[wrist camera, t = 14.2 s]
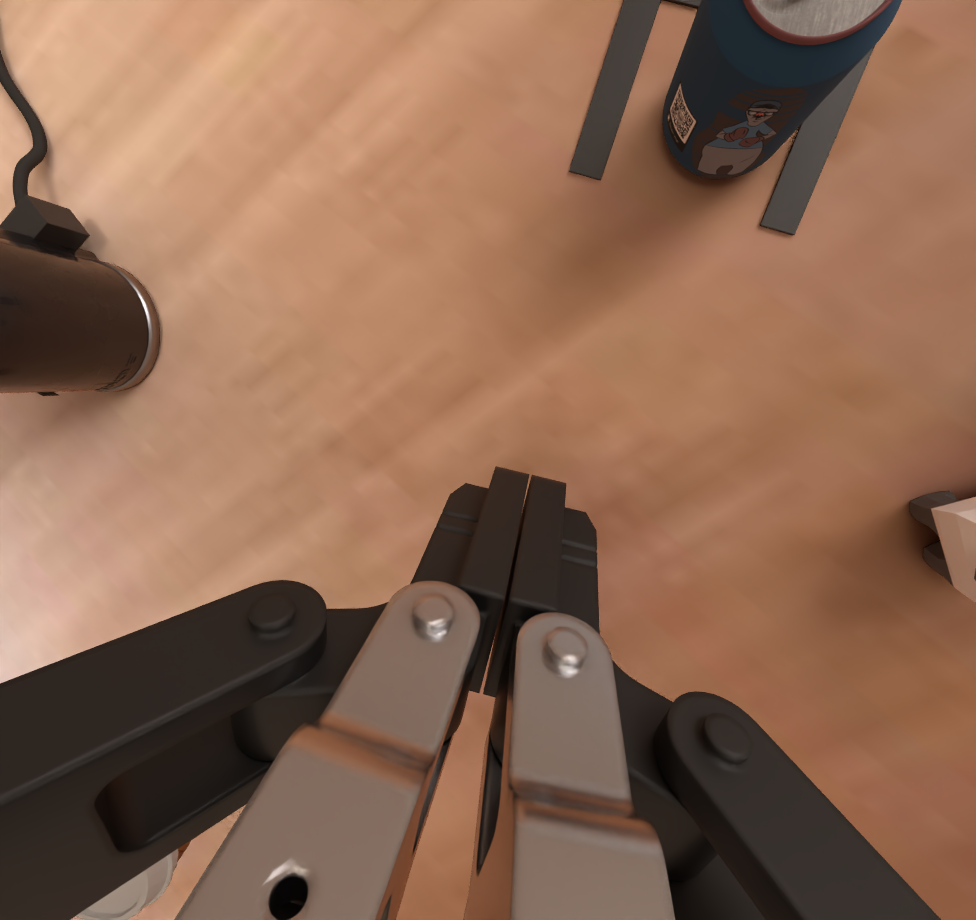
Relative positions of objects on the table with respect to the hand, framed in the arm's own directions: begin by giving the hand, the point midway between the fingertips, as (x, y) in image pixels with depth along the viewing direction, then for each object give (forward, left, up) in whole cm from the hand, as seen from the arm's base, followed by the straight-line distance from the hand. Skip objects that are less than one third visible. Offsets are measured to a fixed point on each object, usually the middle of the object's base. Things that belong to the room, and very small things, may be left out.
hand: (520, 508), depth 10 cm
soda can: (-8, +18, -23) cm, 30 cm away
